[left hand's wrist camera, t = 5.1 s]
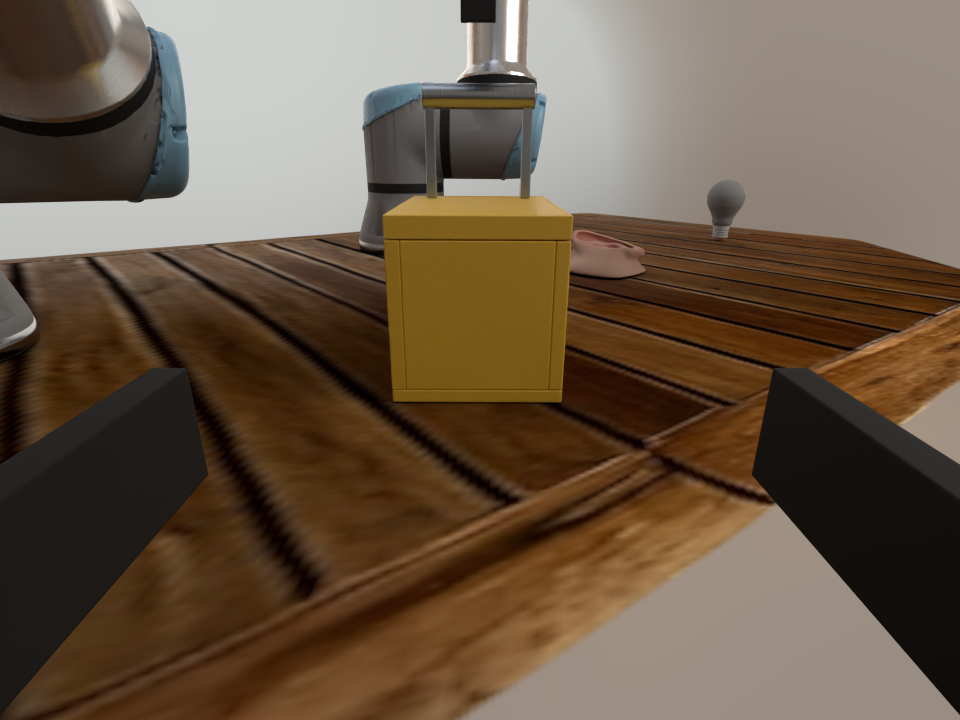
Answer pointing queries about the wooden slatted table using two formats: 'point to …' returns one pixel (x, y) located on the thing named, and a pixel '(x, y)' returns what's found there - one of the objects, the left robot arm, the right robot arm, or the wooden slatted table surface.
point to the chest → (477, 319)
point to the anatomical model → (604, 256)
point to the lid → (478, 212)
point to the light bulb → (724, 205)
